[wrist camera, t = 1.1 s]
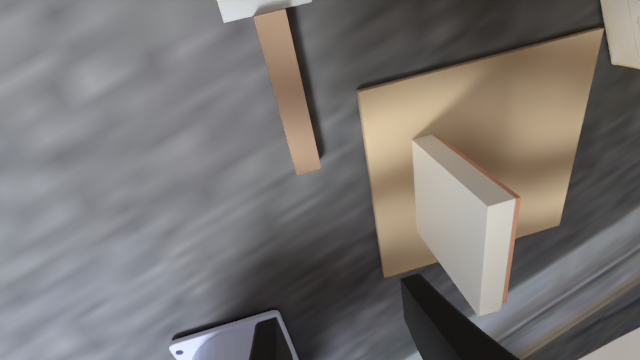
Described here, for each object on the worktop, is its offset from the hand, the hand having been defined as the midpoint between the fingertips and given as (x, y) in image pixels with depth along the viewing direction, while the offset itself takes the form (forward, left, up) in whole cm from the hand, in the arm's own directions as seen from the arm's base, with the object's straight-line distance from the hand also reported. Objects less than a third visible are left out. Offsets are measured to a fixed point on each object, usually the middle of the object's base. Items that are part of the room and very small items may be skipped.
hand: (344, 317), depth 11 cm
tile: (-3, -8, -10) cm, 12 cm away
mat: (-3, -11, -10) cm, 15 cm away
